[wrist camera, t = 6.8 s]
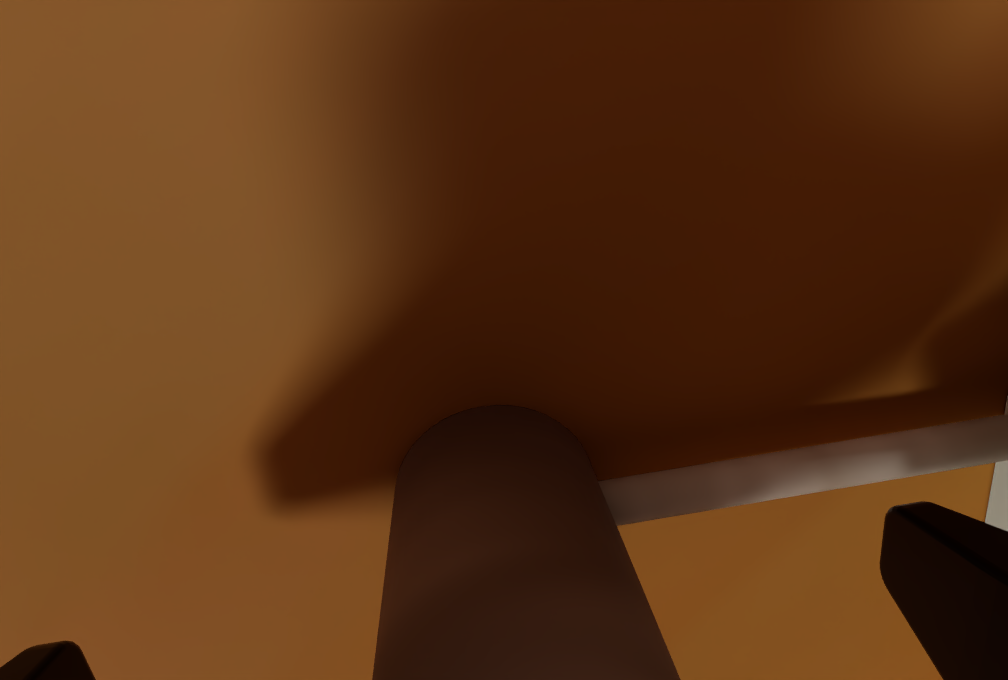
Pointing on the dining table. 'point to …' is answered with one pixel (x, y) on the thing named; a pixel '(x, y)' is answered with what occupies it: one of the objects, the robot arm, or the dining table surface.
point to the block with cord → (585, 540)
